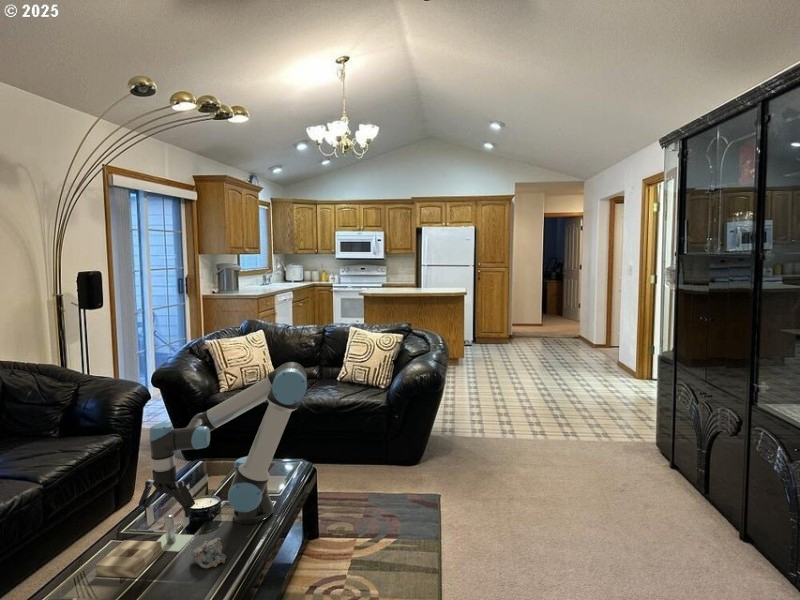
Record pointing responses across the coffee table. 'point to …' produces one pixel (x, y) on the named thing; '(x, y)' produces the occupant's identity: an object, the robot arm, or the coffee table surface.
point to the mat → (179, 543)
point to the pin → (169, 529)
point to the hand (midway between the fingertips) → (168, 524)
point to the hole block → (128, 558)
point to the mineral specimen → (209, 553)
